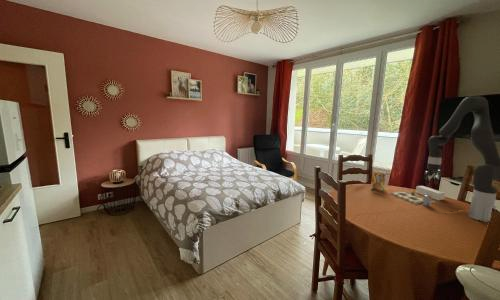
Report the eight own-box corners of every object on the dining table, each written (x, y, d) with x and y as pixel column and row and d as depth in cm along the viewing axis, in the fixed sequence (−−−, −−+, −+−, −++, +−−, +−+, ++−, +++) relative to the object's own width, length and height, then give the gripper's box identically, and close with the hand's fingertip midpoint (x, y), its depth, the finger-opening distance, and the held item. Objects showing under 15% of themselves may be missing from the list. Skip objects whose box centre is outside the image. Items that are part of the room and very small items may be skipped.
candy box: (384, 190, 175) (386, 172, 172) (382, 191, 172) (384, 173, 169) (372, 187, 181) (374, 170, 179) (370, 189, 178) (372, 171, 176)
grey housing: (443, 200, 156) (445, 192, 155) (437, 201, 154) (438, 193, 153) (421, 192, 171) (422, 185, 170) (415, 193, 169) (416, 186, 168)
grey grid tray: (436, 203, 151) (436, 197, 150) (428, 204, 149) (429, 198, 148) (408, 193, 170) (409, 188, 169) (401, 193, 168) (402, 189, 167)
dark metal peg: (431, 208, 143) (433, 196, 142) (426, 208, 142) (428, 197, 141) (425, 205, 147) (426, 194, 146) (420, 206, 146) (422, 194, 145)
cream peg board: (425, 203, 150) (426, 200, 149) (414, 205, 147) (415, 201, 147) (401, 194, 167) (401, 191, 166) (391, 195, 164) (391, 192, 164)
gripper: (432, 164, 153) (429, 186, 155) (447, 163, 156) (443, 185, 159) (421, 162, 160) (419, 183, 162) (435, 161, 164) (433, 182, 166)
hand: (431, 184), depth 160 cm, fingers open, 8 cm apart
